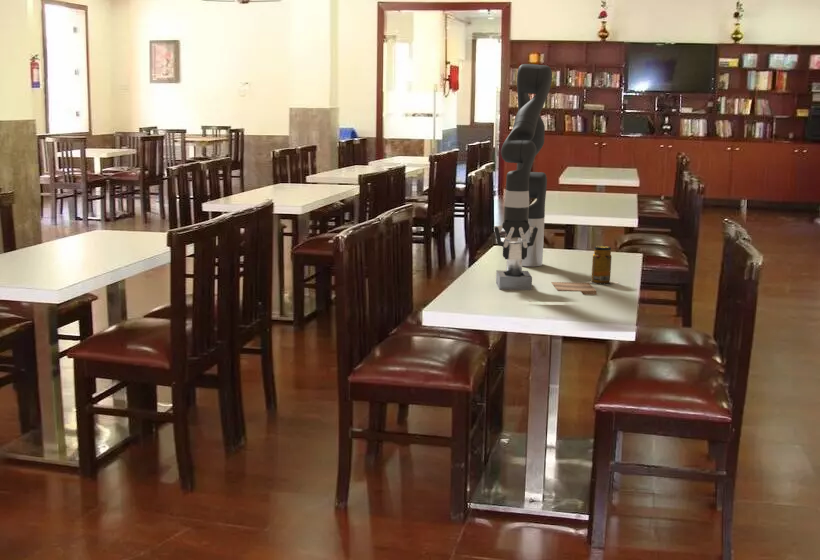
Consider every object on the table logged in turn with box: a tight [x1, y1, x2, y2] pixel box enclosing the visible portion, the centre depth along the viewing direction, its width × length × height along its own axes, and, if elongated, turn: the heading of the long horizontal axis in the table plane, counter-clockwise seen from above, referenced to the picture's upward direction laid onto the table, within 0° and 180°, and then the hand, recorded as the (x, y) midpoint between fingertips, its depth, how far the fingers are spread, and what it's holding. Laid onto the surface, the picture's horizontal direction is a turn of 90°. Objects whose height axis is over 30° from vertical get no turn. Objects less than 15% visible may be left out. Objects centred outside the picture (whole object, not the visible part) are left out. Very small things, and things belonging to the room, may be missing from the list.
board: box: [551, 281, 597, 295], centre depth 291 cm, size 12×12×1 cm
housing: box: [495, 269, 533, 291], centre depth 290 cm, size 10×10×5 cm
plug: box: [505, 240, 523, 276], centre depth 289 cm, size 5×5×10 cm
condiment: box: [587, 245, 620, 286], centre depth 302 cm, size 7×8×12 cm
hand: (514, 258), depth 289 cm, fingers closed on plug, 4 cm apart
